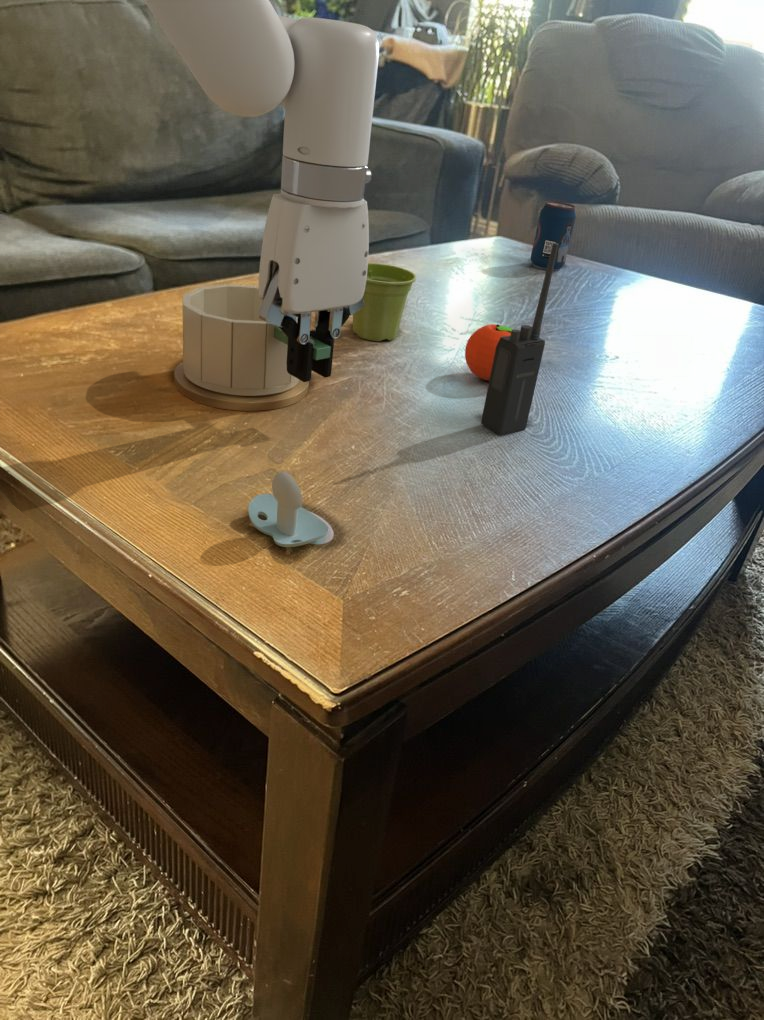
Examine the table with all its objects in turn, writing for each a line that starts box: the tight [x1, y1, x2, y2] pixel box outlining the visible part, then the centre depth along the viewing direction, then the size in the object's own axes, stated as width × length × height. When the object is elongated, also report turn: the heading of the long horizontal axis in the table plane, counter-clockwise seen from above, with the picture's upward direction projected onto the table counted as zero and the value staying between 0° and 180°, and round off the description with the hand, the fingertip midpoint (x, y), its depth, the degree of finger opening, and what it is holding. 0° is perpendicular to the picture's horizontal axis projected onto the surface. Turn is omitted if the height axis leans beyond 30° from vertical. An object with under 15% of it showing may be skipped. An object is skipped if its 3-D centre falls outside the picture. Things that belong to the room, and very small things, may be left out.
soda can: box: [530, 200, 577, 272], centre depth 153 cm, size 7×7×12 cm
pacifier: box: [247, 470, 335, 548], centre depth 62 cm, size 7×6×6 cm
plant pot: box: [352, 262, 417, 342], centre depth 106 cm, size 9×9×9 cm
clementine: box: [464, 323, 514, 382], centre depth 97 cm, size 8×7×7 cm
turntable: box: [173, 360, 310, 412], centre depth 88 cm, size 15×15×1 cm
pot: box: [181, 283, 331, 396], centre depth 84 cm, size 13×20×8 cm, turn 43°
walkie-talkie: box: [480, 243, 559, 437], centre depth 82 cm, size 5×3×20 cm
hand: (308, 373), depth 79 cm, fingers closed on pot, 2 cm apart
